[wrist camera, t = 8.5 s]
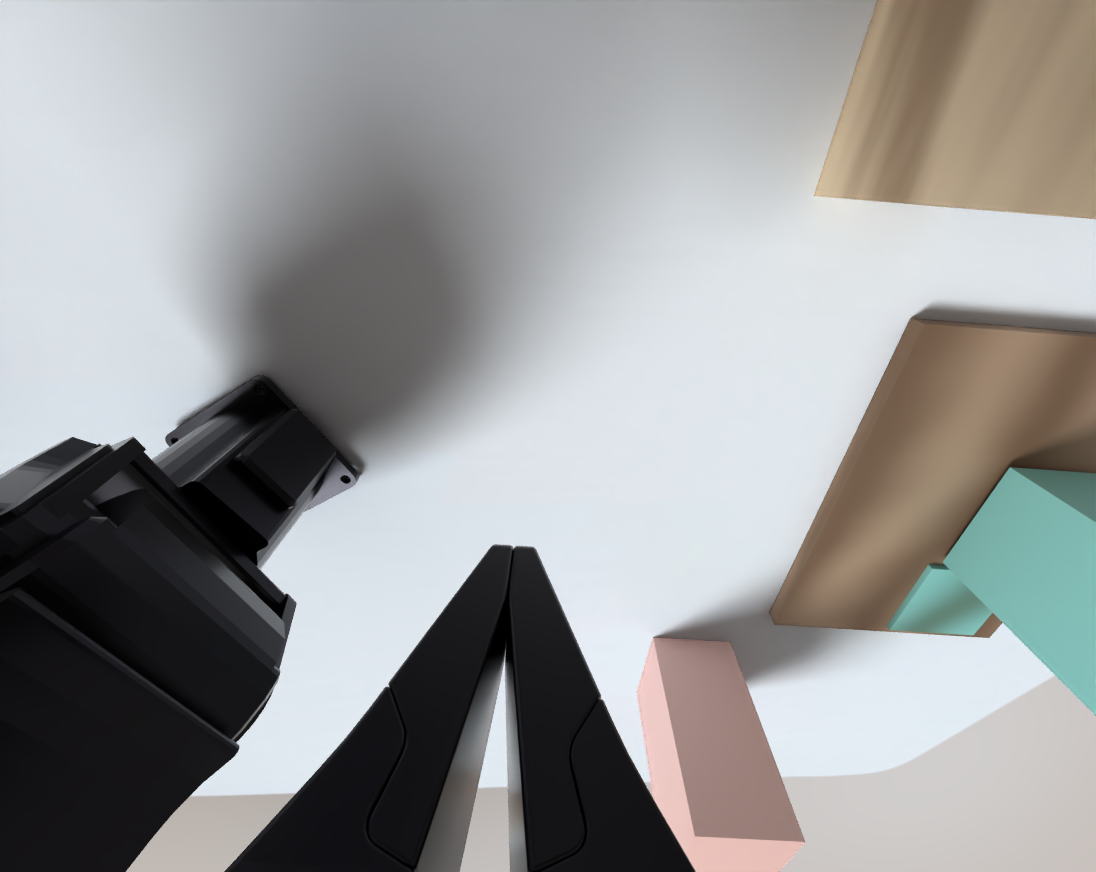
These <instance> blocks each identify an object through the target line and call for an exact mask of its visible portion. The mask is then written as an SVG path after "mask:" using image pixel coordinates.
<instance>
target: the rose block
mask: <svg viewBox="0 0 1096 872" xmlns="http://www.w3.org/2000/svg"><path fill="white" fill-rule="evenodd" d="M637 696H638V703H639V709H640V716H641V722H642V728H643V735H644V741H645V748H646V754H647V760H648V767H649V773H650V779H651V786H652V792H653V799H654V801H655V802H656V804H657V806H658V808H659V809H660V811H661V813H662V814H663V816H664V818H665V820H666V821H667V823H668V825H669V826H670V828H671V830H672V831H673V833H674V835H675V837H676V838H677V840H678V842H679V843H680V845H681V847H682V849H683V850H684V852H685V854H686V855H687V857H688V859H689V861H690V862H691V864H692V866H693V867H694V869H695V871H696V872H780V870H781V869H782V868H783V867H784V866H785V865H786V864H787V862H788V861H789V860H790V859H791V858H792V857H793V856H794V854H795V853H796V852H797V851H798V850H799V849H800V848H801V846H802V845H803V844H804V843H805V840H804V837H803V835H802V832H801V829H800V827H799V824H798V821H797V819H796V816H795V814H794V811H793V808H792V805H791V803H790V800H789V798H788V794H787V792H786V789H785V787H784V784H783V781H782V778H781V776H780V773H779V770H778V768H777V765H776V762H775V760H774V757H773V754H772V752H771V749H770V746H769V744H768V741H767V738H766V736H765V733H764V730H763V728H762V725H761V722H760V720H759V717H758V714H757V712H756V709H755V706H754V704H753V701H752V698H751V696H750V693H749V690H748V687H747V685H746V682H745V679H744V677H743V674H742V671H741V669H740V666H739V663H738V661H737V658H736V655H735V653H734V650H733V647H732V645H731V642H722V641H706V640H690V639H673V638H657V637H653V639H652V642H651V646H650V649H649V652H648V656H647V659H646V662H645V666H644V669H643V673H642V676H641V679H640V683H639V686H638V689H637Z"/></svg>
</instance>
